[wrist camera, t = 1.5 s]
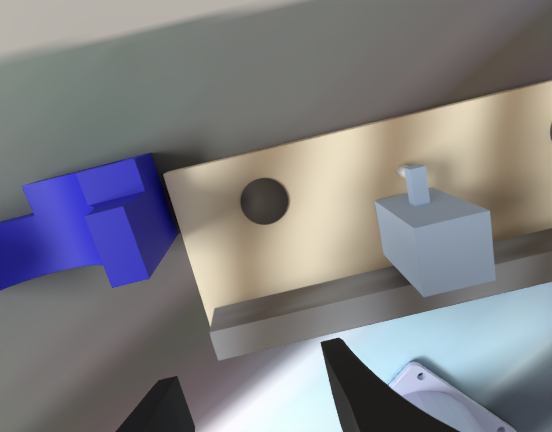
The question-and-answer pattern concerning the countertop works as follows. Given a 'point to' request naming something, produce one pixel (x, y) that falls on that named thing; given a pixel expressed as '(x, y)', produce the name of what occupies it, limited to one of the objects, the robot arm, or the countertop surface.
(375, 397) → the robot arm
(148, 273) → the cable clip
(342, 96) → the countertop surface
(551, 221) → the board
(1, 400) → the countertop surface
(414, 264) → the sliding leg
